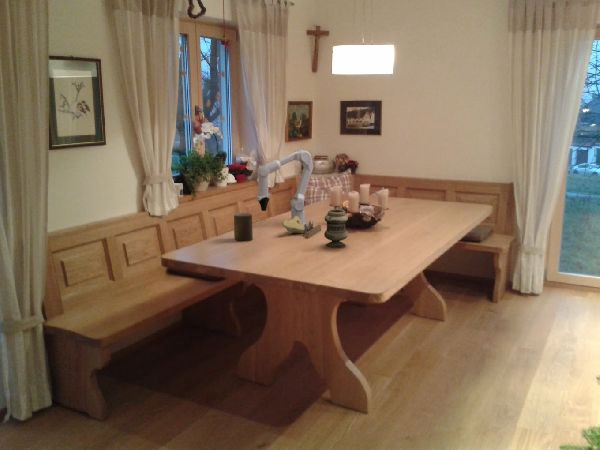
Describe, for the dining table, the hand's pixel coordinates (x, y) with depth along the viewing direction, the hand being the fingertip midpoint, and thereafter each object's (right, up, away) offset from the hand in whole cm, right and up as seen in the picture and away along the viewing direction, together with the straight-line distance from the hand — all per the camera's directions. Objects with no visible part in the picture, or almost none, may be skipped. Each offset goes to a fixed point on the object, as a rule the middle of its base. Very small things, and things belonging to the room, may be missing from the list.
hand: (263, 210), depth 329 cm
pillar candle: (-9, -16, -26) cm, 32 cm away
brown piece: (+27, -13, -15) cm, 33 cm away
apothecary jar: (+39, -19, -39) cm, 59 cm away
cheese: (+18, -14, -15) cm, 27 cm away
